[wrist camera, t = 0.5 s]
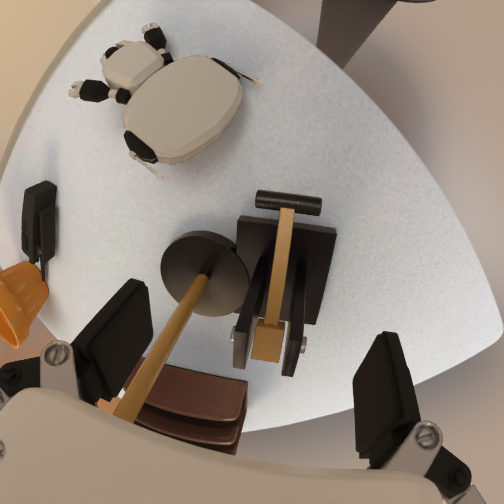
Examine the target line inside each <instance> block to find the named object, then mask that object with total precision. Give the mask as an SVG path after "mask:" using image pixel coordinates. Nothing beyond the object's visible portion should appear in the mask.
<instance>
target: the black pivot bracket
mask: <svg viewBox="0 0 504 504" xmlns="http://www.w3.org/2000/svg"><path fill="white" fill-rule="evenodd" d="M278 223H279V220H273V219H265V218H257V217H249V216H240V217H239V219H238V221H237V242H236V254H237V255H238V257H239V258H240V259H241V260H242V262H243V264H244V265H245V267H246V269H247V272H248V275H249V281H250V286H249V289H248V292H247V295H246V297H245V300H244V303H243V305H242V306H241V307H240V308H239V309H237V310H236V311H234V313H239V314H240V315H239V318H238V321H237V324H236V326H233V328H232V332H231V342H233V343H234V352H233V367H234V368H239V369H245V367H246V363H247V359H248V356H249V352H250V348H251V344H252V341H253V337H254V333H255V329H256V325H257V321H258V317H262V318H265V315H266V308H267V301H268V295H269V288H270V281H271V274H272V267H273V260H274V253H275V246H276V238H277V231H278ZM336 236H337V233H336V229H335V228H330V227H323V226H316V225H309V224H302V223H295V222H293V229H292V237H291V244H290V251H289V258H288V265H287V272H286V279H285V285H284V292H283V298H282V305H281V311H280V317H279V320H282V321H288V329H287V337H286V344H285V352H284V359H283V366H282V373H281V375H282V376H289V377H293V375H294V372H295V368H296V365H297V361H298V358H299V354H300V353H304V352H305V349H306V343H307V337H304V336H303V332H304V324H311V325H315V324H316V321H317V317H318V313H319V309H320V306H321V302H322V298H323V294H324V290H325V285H326V281H327V277H328V273H329V268H330V264H331V260H332V255H333V250H334V246H335V241H336Z"/></svg>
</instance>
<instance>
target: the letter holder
mask: <svg viewBox="0 0 504 504" xmlns="http://www.w3.org/2000/svg"><path fill="white" fill-rule="evenodd" d="M144 360H145V359H144V358H140V360H139V361H138V363H137V365H136V366H135V368H134V369H133V371H132V373H131V374H130V376H129V378H128V379H127V381H126V383H125V384H124V386H123V389H124V391H125V392H126V390H127V389H128V387H129V385H130V384H131V382H132V380H133V378H134V377H135V375H136V373H137V372H138V370H139V368H140V367H141V365H142V363H143V362H144ZM246 411H247V382H244V381H238V380H232V379H227V378H222V377H218V376H212V375H208V374H203V373H198V372H194V371H190V370H185V369H181V368H177V367H173V366H170V365H165V364H164V366H163V368H162V370H161V372H160V374H159V375H158V377H157V379H156V381H155V383H154V385H153V387H152V389H151V391H150V392H149V394H148V396H147V398H146V400H145V402H144V404H143V406H142V408H141V410H140V412H139V414H138V416H137V418H136V419H135V421H134V423H133V424H135V425H137V426H140V427H142V428H145V429H147V430H150V431H153V432H155V433H158V434H161V435H164V436H167V437H169V438H172V439H175V440H179V441H182V442H185V443H188V444H191V445H195V446H198V447H202V448H205V449H209V450H213V451H217V452H221V453H225V454H229V455H234V456H235V454H236V450H237V446H238V443H239V439H240V435H241V431H242V427H243V423H244V419H245V416H246Z"/></svg>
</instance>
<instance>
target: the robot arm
mask: <svg viewBox="0 0 504 504" xmlns="http://www.w3.org/2000/svg"><path fill="white" fill-rule="evenodd" d="M152 338H153V326H152V319H151V311H150V302H149V292H148V287H147V286H145V283H144V282H143V281H140V280H136V279H133V278H131V279H129V280H128V281H127V282H126V283H125V284H124V285H123V286H122V287H121V288H120V289H119V290H118V292H117V293H116V294H115V295H114V296H113V297H112V298H111V299H110V300H109V301H108V302H107V303H106V304H105V306H104V307H103V308H102V309H101V310H100V311H99V312H98V313H97V314H96V315H95V316H94V318H93V319H92V320H91V321H90V322H89V323H88V324H87V326H86V327H85V328H84V329H83V330H82V331H81V332H80V334H79V335H78V336H77V337H76V338H75V339H74V341H73V342H72V343H71V344H69V343H67V342H66V341H62V340H56V341H52V342H50V343H48V344H47V345H46V346H45V347H44V348H43V350H42V352H41V356H40V357H35V358H30V359H25V360H19V361H14V362H9V363H6V364H5V365H3V366H2V367H1V368H0V504H486V502H485V501H484V499H483V498H482V496H481V495H480V493H479V491H478V490H477V488H476V487H475V485H472V486H471V485H470V483H471V477H472V476H471V471H470V469H469V468H468V466H467V465H466V464H464V463H463V462H462V461H461V460H459V459H458V458H457V457H456V456H454V455H453V454H452V453H451V452H449V451H448V450H447V449H446V448H444V447H443V446H442V442H443V435H442V432H441V430H440V428H439V427H438V426H437V425H436V424H435V423H433V422H431V421H421V418H420V413H419V408H418V403H417V399H416V395H415V390H414V386H413V382H412V378H411V374H410V371H409V368H408V367H407V364H406V361H405V357H404V353H403V350H402V347H401V343H400V340H399V337H398V334H397V333H394V332H387V331H383V332H382V333H381V334H378V335H377V337H376V338H375V340H374V342H373V344H372V346H371V348H370V349H369V351H368V353H367V355H366V357H365V358H364V360H363V362H362V363H361V365H360V367H359V369H358V370H357V372H356V374H355V375H354V378H353V397H354V414H355V438H356V451H357V452H359V458H360V459H365V458H366V459H369V464H370V466H369V467H368V468H367V469H332V468H315V467H303V466H294V465H286V464H278V463H271V462H265V461H259V460H253V459H248V458H243V457H238V456H234V455H229V454H225V453H221V452H217V451H213V450H209V449H205V448H202V447H198V446H195V445H191V444H188V443H185V442H182V441H179V440H175V439H172V438H169V437H167V436H164V435H161V434H158V433H155V432H153V431H150V430H147V429H145V428H142V427H140V426H137V425H135V424H133V423H130V422H128V421H126V420H123V419H121V418H119V417H116V416H114V415H112V414H109V413H107V412H105V411H103V410H101V409H98V405H97V402H98V400H99V399H100V398H102V399H104V400H106V401H108V402H110V401H111V399H112V398H113V397H116V396H118V394H119V392H120V391H121V389H122V388H123V386H124V384H125V383H126V381H127V379H128V378H129V376H130V374H131V373H132V371H133V369H134V368H135V366H136V365H137V363H138V361H139V360H140V358H141V357H142V355H143V353H144V352H145V350H146V349H147V347H148V345H149V344H150V342H151V341H152Z"/></svg>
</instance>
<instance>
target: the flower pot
mask: <svg viewBox="0 0 504 504" xmlns="http://www.w3.org/2000/svg"><path fill="white" fill-rule="evenodd" d="M48 294H49V291H48V287H47V284H46V281H45V282H43V281H42V276H41V272H40V271H39V270H38V268H37V267H36V266H35V265H34V264H31V263H30V262H29V261H24V262H21V263H19V264H17V265H14V266H12V267H10V268H7V269H5V270H3V271H1V272H0V337H1V338H2V339H3V340H4V341H5V342H6V343H8V344H9V345H10V346H12V347H14V348H18V347H19V346H20V345H21V344H22V343H23V341H24V340H25V339H26V338H27V337H28V335H29V327H30V325H31V323H32V322H33V320H34V318H35V317H36V315H37V313H38V312H39V310H40V309H41V307H42V305H43V304H44V302H45V300H46V299H47V297H48Z"/></svg>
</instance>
